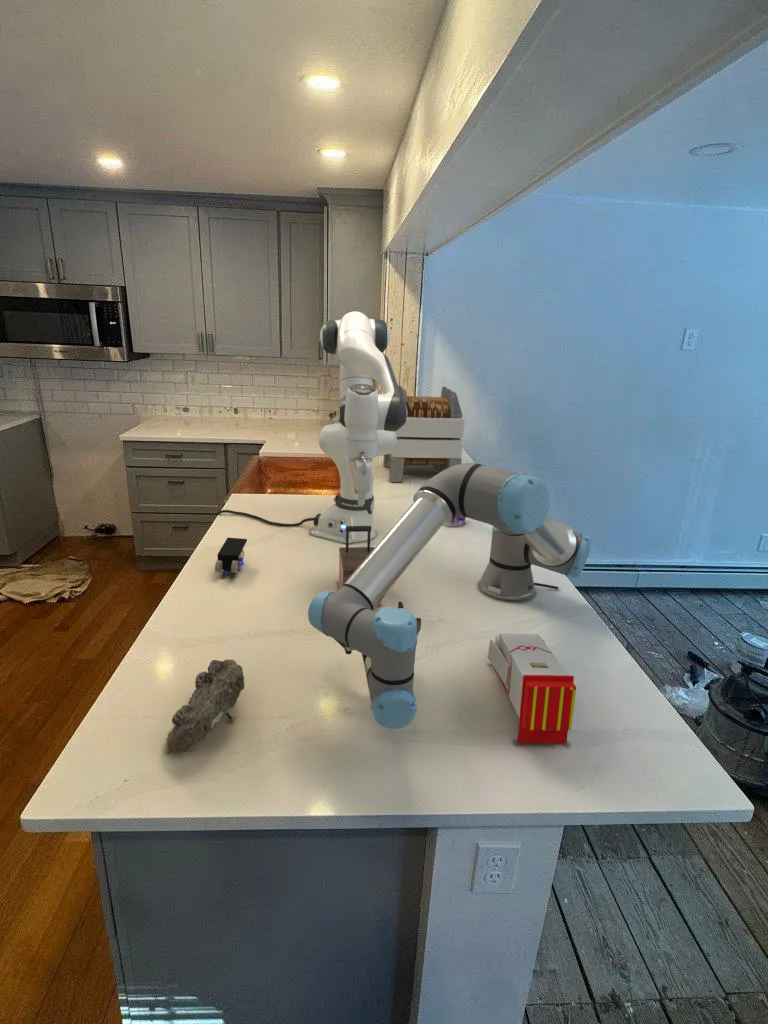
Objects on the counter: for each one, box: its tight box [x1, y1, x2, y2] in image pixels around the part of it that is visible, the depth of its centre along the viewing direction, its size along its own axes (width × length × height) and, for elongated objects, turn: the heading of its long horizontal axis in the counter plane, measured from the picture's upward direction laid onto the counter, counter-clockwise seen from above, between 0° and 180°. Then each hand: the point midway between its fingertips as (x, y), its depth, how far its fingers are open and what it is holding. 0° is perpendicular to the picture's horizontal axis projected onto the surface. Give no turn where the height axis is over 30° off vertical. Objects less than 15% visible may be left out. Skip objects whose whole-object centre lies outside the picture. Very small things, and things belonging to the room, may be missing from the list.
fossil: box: [166, 658, 245, 754], centre depth 106 cm, size 22×10×15 cm
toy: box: [487, 632, 577, 744], centre depth 116 cm, size 12×13×30 cm
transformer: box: [383, 384, 465, 483], centre depth 268 cm, size 34×33×41 cm
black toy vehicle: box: [214, 537, 248, 578], centre depth 166 cm, size 7×8×15 cm
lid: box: [338, 526, 375, 575], centre depth 153 cm, size 15×10×9 cm, turn 8°
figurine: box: [446, 516, 467, 528], centre depth 210 cm, size 9×10×15 cm
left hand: (359, 498), depth 153 cm, fingers open, 8 cm apart
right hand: (370, 607), depth 129 cm, fingers open, 13 cm apart
